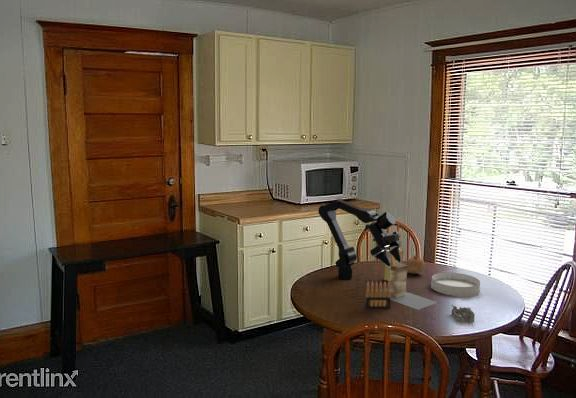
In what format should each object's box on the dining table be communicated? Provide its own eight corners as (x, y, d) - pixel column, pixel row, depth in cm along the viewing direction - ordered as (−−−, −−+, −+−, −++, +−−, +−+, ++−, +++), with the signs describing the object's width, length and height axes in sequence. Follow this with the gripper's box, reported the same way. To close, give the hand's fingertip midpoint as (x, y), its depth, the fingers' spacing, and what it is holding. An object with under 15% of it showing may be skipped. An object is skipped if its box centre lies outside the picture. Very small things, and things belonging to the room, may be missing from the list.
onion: (426, 277, 266) (427, 257, 264) (407, 276, 266) (408, 257, 264) (421, 271, 275) (422, 252, 274) (403, 271, 275) (404, 252, 274)
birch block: (389, 295, 237) (391, 265, 235) (398, 292, 241) (400, 263, 239) (397, 298, 234) (398, 267, 232) (405, 295, 238) (407, 265, 235)
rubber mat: (371, 293, 240) (371, 292, 240) (391, 287, 249) (391, 286, 249) (418, 310, 220) (418, 309, 220) (438, 303, 229) (438, 302, 229)
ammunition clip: (389, 307, 224) (390, 280, 222) (390, 309, 222) (391, 281, 220) (364, 307, 224) (365, 280, 222) (365, 308, 222) (366, 281, 220)
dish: (482, 286, 254) (482, 276, 253) (477, 300, 234) (478, 289, 233) (435, 279, 263) (435, 270, 262) (426, 293, 243) (427, 282, 242)
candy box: (395, 277, 265) (396, 247, 263) (402, 279, 262) (403, 249, 260) (383, 280, 260) (385, 250, 257) (390, 282, 257) (391, 252, 254)
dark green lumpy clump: (449, 313, 219) (450, 303, 218) (468, 313, 218) (468, 304, 218) (456, 323, 208) (457, 313, 208) (476, 323, 208) (476, 313, 207)
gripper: (380, 229, 235) (397, 260, 231) (401, 223, 249) (417, 252, 245) (362, 240, 242) (379, 270, 238) (384, 233, 256) (400, 262, 252)
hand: (394, 263), depth 243 cm, fingers open, 9 cm apart
